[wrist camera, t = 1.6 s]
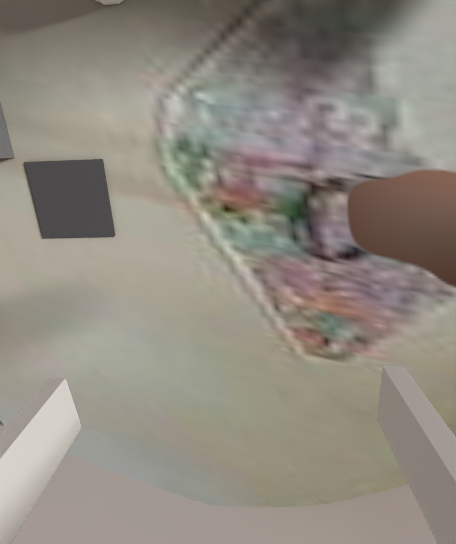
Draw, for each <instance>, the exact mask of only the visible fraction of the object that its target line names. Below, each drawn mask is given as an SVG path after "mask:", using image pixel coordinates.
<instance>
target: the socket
mask: <svg viewBox="0 0 456 544" xmlns="http://www.w3.org/2000/svg"><path fill="white" fill-rule="evenodd" d="M3 158H14V155H13V151H12V147H11V143H10V139H9V135H8V131H7V127H6V123H5V120H4V116H3V112H2V108H1V104H0V159H3Z"/></svg>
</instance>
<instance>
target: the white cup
mask: <svg viewBox="0 0 456 544" xmlns="http://www.w3.org/2000/svg"><path fill="white" fill-rule="evenodd" d="M95 1H97V2H99V3H101V4H103V5H111V4H120V3H121V2H122V1H124V0H95Z"/></svg>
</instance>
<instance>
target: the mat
mask: <svg viewBox="0 0 456 544" xmlns="http://www.w3.org/2000/svg"><path fill="white" fill-rule="evenodd" d="M24 163H25V167H26V171H27V175H28V179H29V183H30V187H31V191H32V195H33V199H34V203H35V207H36V211H37V215H38V219H39V223H40V227H41V232H42V236H43V238H83V237H114V236H115V231H114V225H113V219H112V213H111V207H110V200H109V194H108V188H107V182H106V176H105V170H104V164H103V159H94V160H68V161H43V162H24Z"/></svg>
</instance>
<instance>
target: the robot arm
mask: <svg viewBox="0 0 456 544" xmlns="http://www.w3.org/2000/svg"><path fill="white" fill-rule="evenodd" d="M378 422H379V424H380V426H381V428H382V430H383V432H384V434H385V436H386V438H387V441H388V443H389V445H390V447H391V449H392V451H393V453H394V455H395V457H396V459H397V461H398V463H399V465H400V467H401V469H402V471H403V473H404V476H405V478H406V480H407V482H408V484H409V486H410V488H411V490H412V492H413V494H414V496H415V498H416V500H417V502H418V504H419V506H420V508H421V510H422V513H423V515H424V517H425V519H426V521H427V523H428V525H429V527H430V529H431V531H432V533H433V535H434V537H435V539H436V541H437V543H438V544H456V437H455V436H454V434H453V433H452V432H451V430H450V429H449V428H448V426H447V425H446V423H445V422H444V421H443V419H442V418H441V417H440V415H439V414H438V412H437V411H436V410H435V408H434V407H433V406H432V404H431V403H430V402H429V400H428V399H427V397H426V396H425V395H424V393H423V392H422V391H421V389H420V388H419V386H418V385H417V384H416V382H415V381H414V380H413V378H412V377H411V376H410V374H409V373H408V371H407V370H406V369H405V367H404V366H403V365H394V366H383V367H382V378H381V388H380V399H379V410H378ZM80 429H81V424H80V421H79V418H78V415H77V412H76V409H75V406H74V403H73V400H72V397H71V394H70V391H69V388H68V385H67V381H66V378H56V379H48V380H47V381H46V382H45V383H44V384H43V386H42V387H41V388H40V389H39V390H38V391H37V392H36V394H35V395H34V396H33V397H32V398H31V399H30V400H29V402H28V403H27V404H26V405H25V406H24V407H23V408H22V409H21V411H20V412H19V413H18V414H17V415H16V416H15V417H14V419H13V420H12V421H11V422H10V423H9V424H8V425H7V427H6V428H5V429H4V430H3V431H2V432H1V433H0V544H11V543H12V541H13V540H14V538H15V537H16V535H17V533H18V532H19V530H20V528H21V527H22V525H23V523H24V522H25V520H26V518H27V517H28V515H29V513H30V512H31V510H32V509H33V507H34V505H35V504H36V502H37V500H38V499H39V497H40V495H41V494H42V492H43V490H44V489H45V487H46V485H47V483H48V482H49V480H50V479H51V477H52V475H53V474H54V472H55V470H56V469H57V467H58V465H59V464H60V462H61V460H62V459H63V457H64V456H65V454H66V452H67V451H68V449H69V447H70V446H71V444H72V442H73V441H74V439H75V437H76V436H77V434H78V432H79V431H80Z"/></svg>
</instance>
